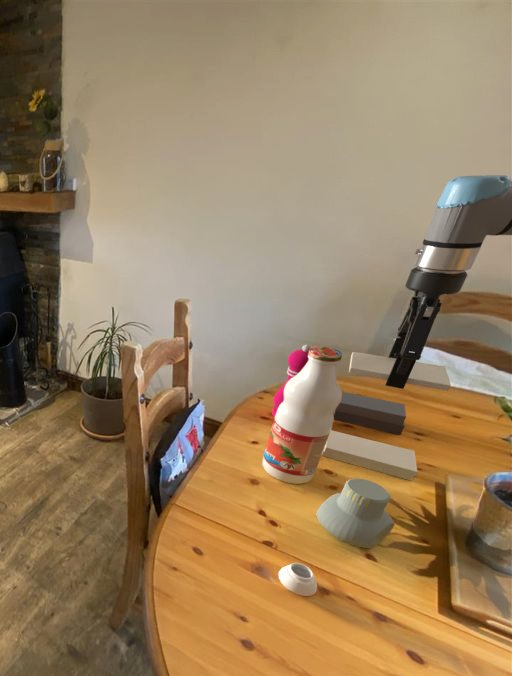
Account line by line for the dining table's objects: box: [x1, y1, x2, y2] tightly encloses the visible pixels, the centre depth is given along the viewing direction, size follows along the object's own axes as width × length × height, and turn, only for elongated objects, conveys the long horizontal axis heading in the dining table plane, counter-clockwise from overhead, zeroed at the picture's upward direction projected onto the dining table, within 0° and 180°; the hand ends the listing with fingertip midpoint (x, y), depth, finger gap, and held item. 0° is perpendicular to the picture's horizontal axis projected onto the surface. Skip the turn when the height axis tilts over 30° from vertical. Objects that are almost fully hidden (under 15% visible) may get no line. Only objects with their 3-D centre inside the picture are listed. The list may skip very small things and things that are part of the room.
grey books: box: [333, 391, 407, 436], centre depth 103 cm, size 13×7×5 cm, turn 52°
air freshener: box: [315, 478, 395, 549], centre depth 72 cm, size 11×8×10 cm
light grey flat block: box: [321, 429, 418, 481], centre depth 91 cm, size 15×8×2 cm, turn 52°
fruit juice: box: [261, 346, 343, 485], centre depth 83 cm, size 9×9×28 cm
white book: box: [348, 351, 451, 392], centre depth 86 cm, size 15×10×1 cm, turn 51°
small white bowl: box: [278, 562, 318, 597], centre depth 65 cm, size 5×3×5 cm
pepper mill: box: [271, 344, 312, 418], centre depth 103 cm, size 7×7×20 cm
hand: (393, 376), depth 87 cm, fingers closed on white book, 10 cm apart
